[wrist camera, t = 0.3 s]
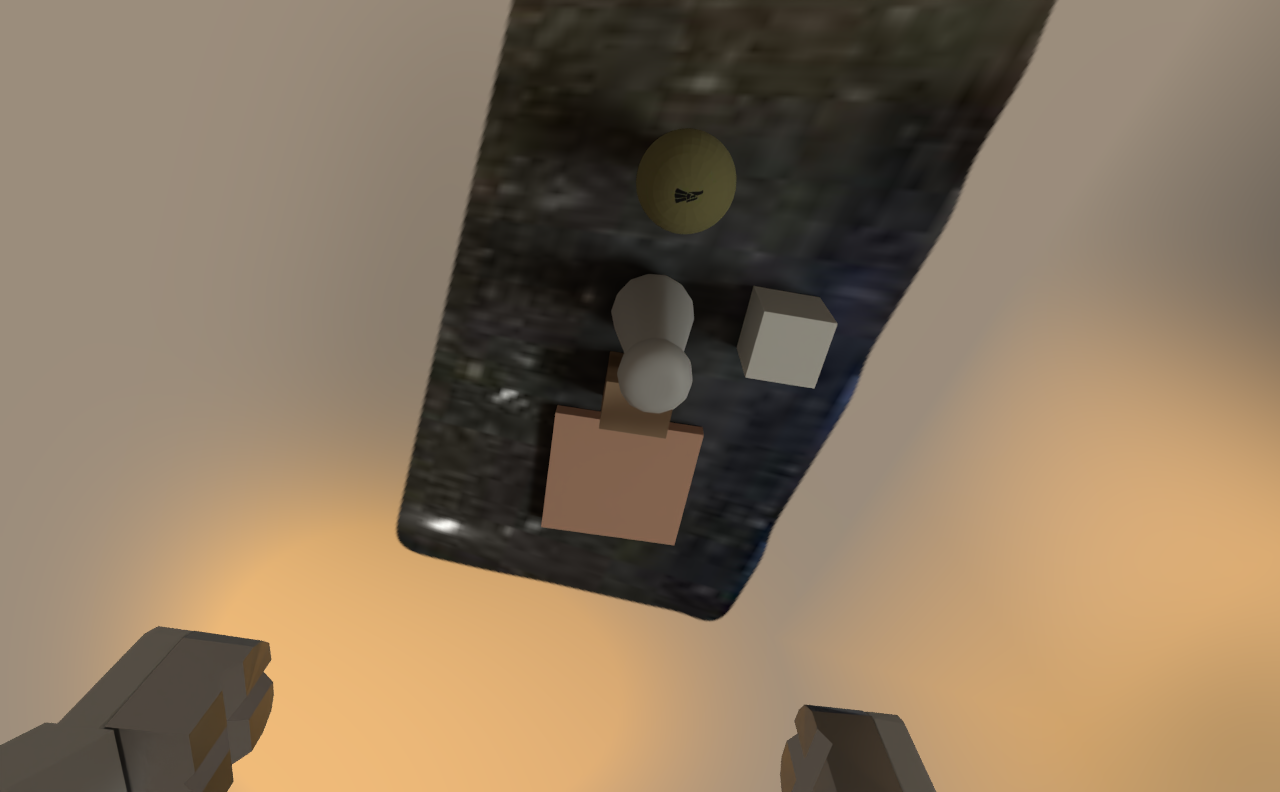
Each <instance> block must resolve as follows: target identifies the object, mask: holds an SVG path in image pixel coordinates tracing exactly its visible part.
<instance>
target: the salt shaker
mask: <svg viewBox="0 0 1280 792" xmlns="http://www.w3.org/2000/svg"><path fill="white" fill-rule="evenodd" d="M611 313H612V318H613V323H614V328H615V331H616V333H617V336H618V338H619V341H620V343H621V346H622V348H623V351H624V353H625V354H624V355H623V357H622V360H621V363H620V365H619V368H618V372H617V376H618V382H619V387H620V391H621V394H622V395H623V396H624V398H625V399H626V400H627V402H628V403H629V404H630V405H631V406H633V407H635V408H637V409H639V410H641V411H643V412H649V413H663V412H666V411H669V410H672V409H675V408H676V407H677V406H678V405H679V404H680V403H682V402H683V401H684V400H685V399H686V397H687V395H688V392H689V390H690V387H691V384H692V370H691V363H690V360H689V359H688V357H687V356H686V354H685V353H684V350H685V346H686V343H687V340H688V337H689V334H690V330H691V327H692V324H693V321H694V311H693V301H692V299H691V298H690V296H689V295H688V293H687V292H686V290H685V289H684V287H683V286H682V285H681V284H680V283H678V282H677V281H675V280H673V279H672V278H670V277H668V276H667V275H656V274H646V275H643V276H640V277H637V278H634V279H631V280H630V281H629V282H628V283H627V284H626V285H625V286H624V287H623V288H622V289H621V290H620V291H619V292H618V294H617V296H616V299H615V302H614V305H613V307H612V310H611Z"/></svg>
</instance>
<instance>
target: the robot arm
mask: <svg viewBox="0 0 1280 792" xmlns="http://www.w3.org/2000/svg"><path fill="white" fill-rule="evenodd" d="M270 661H271V654H270V646H269V643H268V642H264V641H260V640H253V639H245V638H240V637H233V636H226V635H219V634H212V633H205V632H199V631H188V630H181V629H174V628H167V627H160V626H158V627H156V628H154V629H152V630H150V631H149V632H147V633H145V634H144V635H143V636H142V637H141V638H140V639H139V640H138V641H137V642H136V643H135V644H134V645H133V646H132V647H131V648H130V649H129V650H128V651H127V653H126V654H124V656H122V658H121V659H120V660H119V661H118V662H117V663H116V664H115V665H114V666H113V667H112V668H111V669H110V670H109V671H108V672H107V673H106V674H105V675H104V676H103V677H102V678H101V679H100V680H99V681H98V682H97V683H96V684H95V685H94V687H93V688H92V689H91V690H90V691H89V692H88V693H87V694H86V695H85V696H84V697H83V698H82V699H81V700H80V701H79V702H78V703H77V704H76V705H75V706H74V707H73V708H72V709H71V710H70V711H69V712H68V713H67V714H66V715H65V716H64V718H63V719H62V720H61V721H60V722H59V723H58V724H54V723H44V724H42V725H40V726H38V727H36V728H34V729H32V730H30V731H28V732H26V733H24V734H22V735H20V736H18V737H16V738H14V739H12V740H10V741H8V742H6V743H4V744H2V745H0V792H227V791H228V789H229V788H230V786H231V785H232V783H233V773H232V764H233V763H235V762H236V761H238V760H239V759H241V758H242V757H244V756H245V755H247V754H248V753H250V752H251V751H252V750H253V748H254V747H255V745H256V743H257V741H258V740H259V738H260V736H261V735H262V733H263V731H264V728H265V726H266V723H267V720H268V718H269V715H270V712H271V708H272V702H273V696H274V692H273V682H272V681H271V679H270V678H269V677H268V676H267V675H266V674H265V673H264V672H263V671H264V670H265V668H266V667H267V665H268V664H269V662H270ZM795 725H796V729H797V732H798V734H796V735H795V736H793V737H792V738H790V739H789V740H787V742H786V745H785V748H784V751H783V754H782V760H781V772H780V776H781V788H782V792H936V790H935V788H934V786H933V784H932V782H931V780H930V778H929V775H928V773H927V771H926V769H925V767H924V765H923V763H922V760H921V758H920V756H919V754H918V752H917V750H916V748H915V745H914V743H913V741H912V739H911V737H910V735H909V733H908V730H907V728H906V726H905V724H904V722H903V721H902V720H901V719H900V718H899V716H898V715H892V714H883V713H874V712H863V711H860V710H850V709H840V708H832V707H822V706H813V705H804V706H803V707H802V708H801V709H799V711H798V714H797V716H796V719H795Z"/></svg>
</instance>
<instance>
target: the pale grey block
mask: <svg viewBox="0 0 1280 792" xmlns="http://www.w3.org/2000/svg"><path fill="white" fill-rule="evenodd" d="M836 326H837V322H836V321H835V319H834V318H833V316H832V315H831V313H830V312H829V310H828V309H827V307H826V306H825V304H824V303H823V301H822V300H821V299H820V297H815V296H809V295H803V294H797V293H791V292H785V291H780V290H774V289H768V288H762V287H756V286H753V290H752V294H751V297H750V301H749V304H748V308H747V312H746V315H745V319H744V323H743V326H742V330H741V333H740V337H739V341H738V344H737V350H738V354H739V357H740V361H741V364H742V368H743V371H744V374H745V377H746V378H752V379H759V380H765V381H771V382H777V383H783V384H790V385H796V386H802V387H808V388H815V385H816V383H817V380H818V377H819V374H820V371H821V369H822V366H823V363H824V360H825V357H826V354H827V352H828V349H829V346H830V343H831V340H832V338H833V335H834V332H835V329H836Z"/></svg>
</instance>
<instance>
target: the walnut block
mask: <svg viewBox="0 0 1280 792" xmlns="http://www.w3.org/2000/svg"><path fill="white" fill-rule="evenodd" d="M624 354H625V353H619V352H613V351H610V356H609V362H608V368H607V374H606V380H605V386H604V392H603V399H602V407H601V415H600V423H599V429H604V430H611V431H618V432H624V433H631V434H638V435H644V436H651V437H658V438H664V439H666V436H667V431H668V427H669V423H670V418H671V414H672V410H673V409H672V410H669V411H666V412H663V413H649V412H643V411H641V410H639V409H637V408H635V407H633V406H631V405H630V404H629V403H628V402H627V400H626V399H625V398H624V396H623V395H622V394H621V391H620V387H619V382H618V376H617V372H618V368H619V365H620V363H621V360H622V357H623V355H624Z"/></svg>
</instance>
